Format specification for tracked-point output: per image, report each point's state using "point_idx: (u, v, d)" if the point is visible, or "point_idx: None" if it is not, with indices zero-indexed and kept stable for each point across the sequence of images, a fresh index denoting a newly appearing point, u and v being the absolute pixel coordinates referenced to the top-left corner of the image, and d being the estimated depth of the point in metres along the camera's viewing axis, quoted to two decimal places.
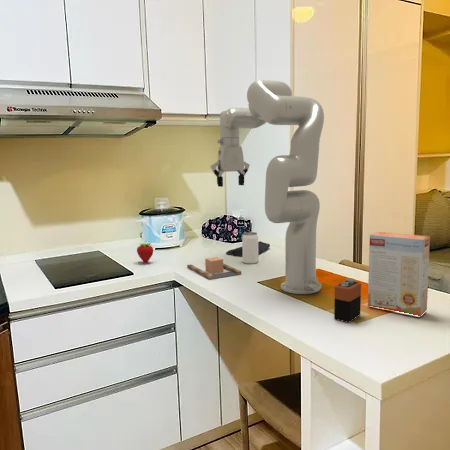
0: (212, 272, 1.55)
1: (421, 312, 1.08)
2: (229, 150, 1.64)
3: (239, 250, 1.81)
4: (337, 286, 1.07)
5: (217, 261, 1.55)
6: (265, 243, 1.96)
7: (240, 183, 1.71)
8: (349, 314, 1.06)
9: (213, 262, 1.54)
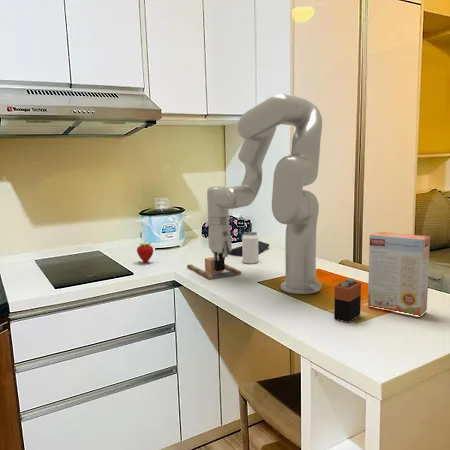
0: (212, 272, 1.55)
1: (421, 312, 1.08)
2: None
3: (238, 250, 1.82)
4: (337, 286, 1.07)
5: None
6: (264, 243, 1.96)
7: None
8: (349, 314, 1.06)
9: (213, 262, 1.55)
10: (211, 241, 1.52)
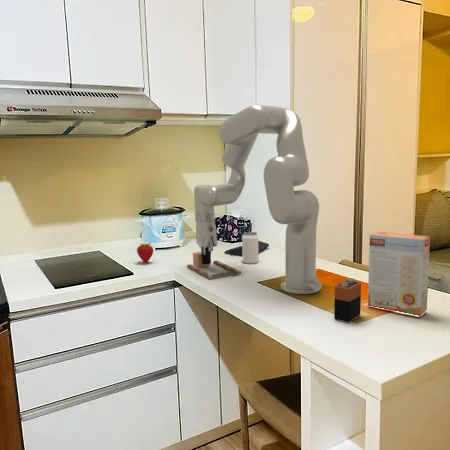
0: (199, 265, 1.65)
1: (421, 312, 1.08)
2: None
3: (237, 249, 1.82)
4: (337, 286, 1.07)
5: None
6: (264, 243, 1.97)
7: None
8: (349, 314, 1.06)
9: (200, 256, 1.65)
10: (198, 236, 1.62)
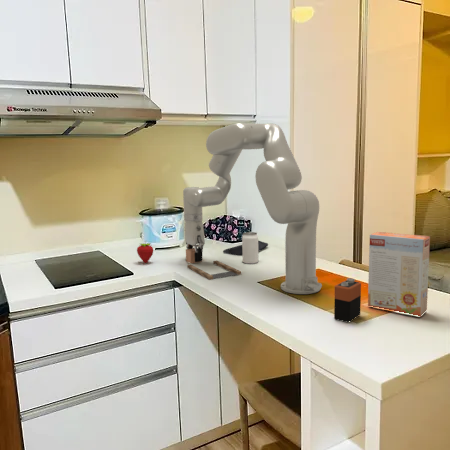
0: (191, 261, 1.72)
1: (421, 312, 1.08)
2: None
3: (235, 249, 1.84)
4: (337, 286, 1.07)
5: None
6: (263, 242, 1.98)
7: None
8: (349, 314, 1.06)
9: (192, 252, 1.71)
10: (187, 235, 1.72)
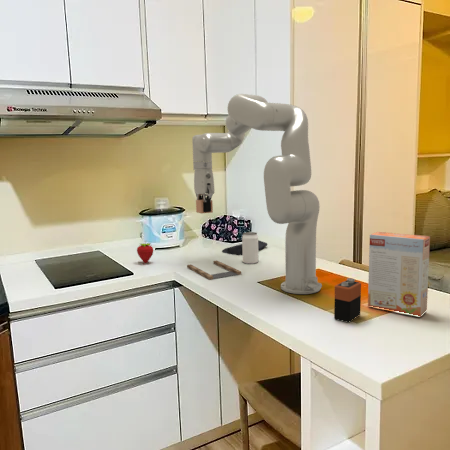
0: (202, 211, 1.67)
1: (421, 312, 1.08)
2: None
3: (233, 248, 1.85)
4: (337, 286, 1.07)
5: None
6: (263, 242, 1.99)
7: None
8: (349, 314, 1.06)
9: None
10: (196, 185, 1.69)
